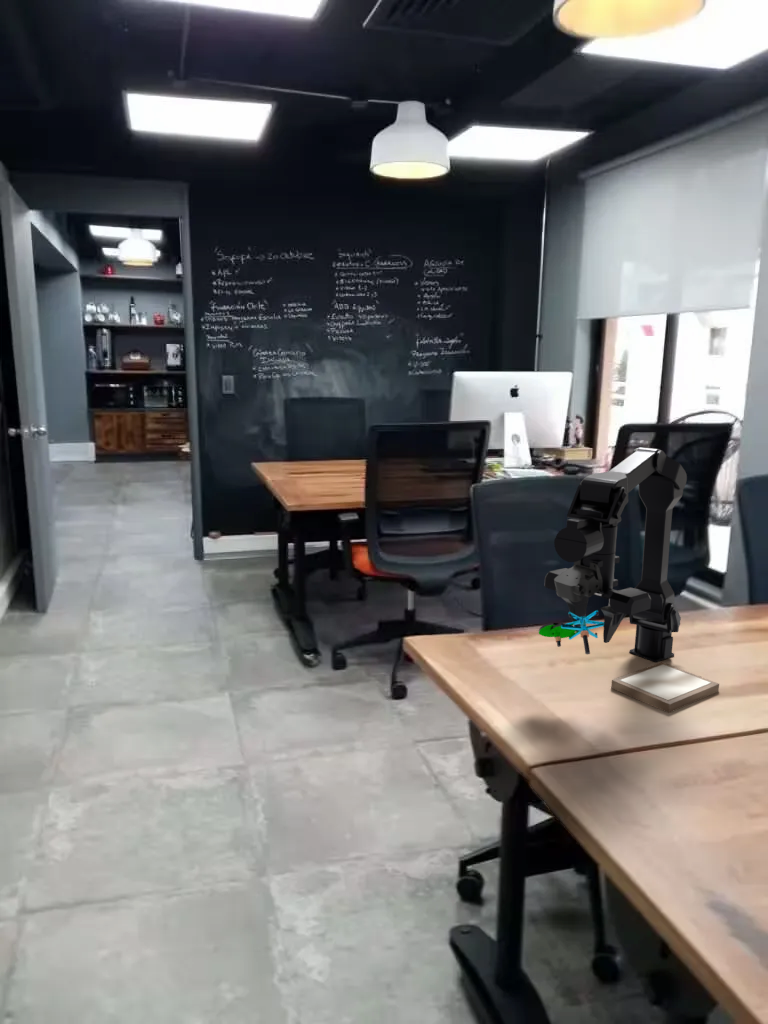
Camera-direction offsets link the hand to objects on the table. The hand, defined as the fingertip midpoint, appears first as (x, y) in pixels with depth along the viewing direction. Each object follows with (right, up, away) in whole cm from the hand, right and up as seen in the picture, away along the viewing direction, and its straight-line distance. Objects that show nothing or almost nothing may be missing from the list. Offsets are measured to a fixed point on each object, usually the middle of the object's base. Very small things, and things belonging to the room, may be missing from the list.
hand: (592, 636), depth 132 cm
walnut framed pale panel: (+15, -11, +6) cm, 19 cm away
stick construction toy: (-2, -2, +1) cm, 3 cm away
